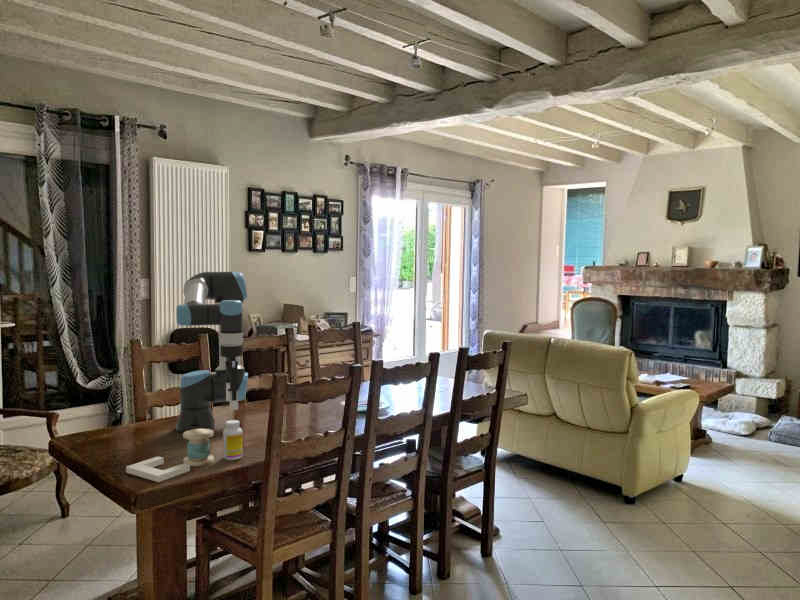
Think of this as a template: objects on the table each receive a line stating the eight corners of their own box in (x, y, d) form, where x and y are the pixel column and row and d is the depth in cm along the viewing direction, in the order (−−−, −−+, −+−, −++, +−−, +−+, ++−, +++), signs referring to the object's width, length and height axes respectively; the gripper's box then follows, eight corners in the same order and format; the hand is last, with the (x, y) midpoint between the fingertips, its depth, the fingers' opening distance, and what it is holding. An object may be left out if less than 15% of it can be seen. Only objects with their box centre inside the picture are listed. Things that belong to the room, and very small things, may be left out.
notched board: (157, 462, 204) (157, 456, 203) (189, 470, 196) (189, 464, 195) (126, 472, 193) (126, 466, 193) (158, 482, 185) (158, 476, 185)
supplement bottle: (246, 457, 209) (246, 421, 209) (229, 462, 204) (229, 425, 204) (235, 453, 214) (235, 418, 213) (219, 457, 209) (219, 421, 208)
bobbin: (200, 454, 212) (199, 427, 211) (220, 459, 207) (219, 431, 206) (176, 462, 203) (176, 433, 202) (197, 468, 198) (196, 438, 197)
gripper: (217, 340, 217) (217, 398, 218) (223, 350, 193) (223, 414, 195) (238, 339, 219) (239, 396, 221) (247, 349, 196) (247, 412, 198)
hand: (231, 405), depth 208 cm, fingers open, 13 cm apart
